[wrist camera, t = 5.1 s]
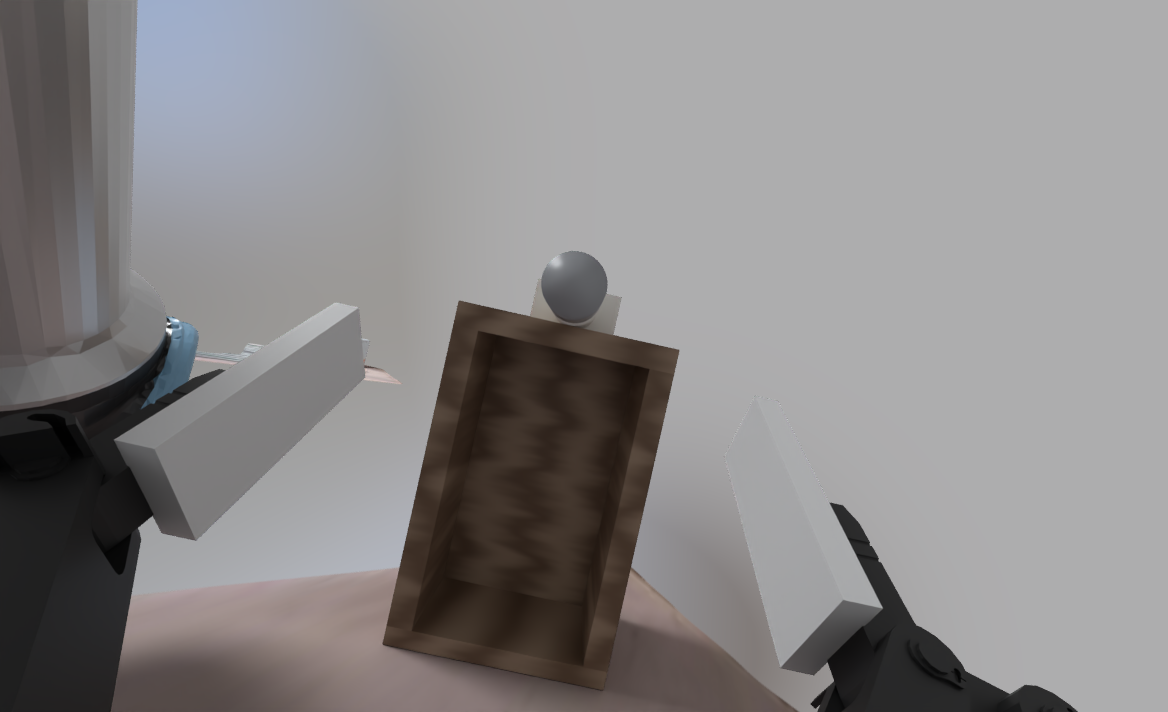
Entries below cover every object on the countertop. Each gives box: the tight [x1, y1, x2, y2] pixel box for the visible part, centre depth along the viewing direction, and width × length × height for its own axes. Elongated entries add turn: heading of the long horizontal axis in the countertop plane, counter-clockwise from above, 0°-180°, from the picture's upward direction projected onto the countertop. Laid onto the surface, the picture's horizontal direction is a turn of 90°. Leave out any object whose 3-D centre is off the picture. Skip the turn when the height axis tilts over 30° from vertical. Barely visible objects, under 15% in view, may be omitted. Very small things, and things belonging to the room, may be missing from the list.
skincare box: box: [362, 339, 370, 363], centre depth 175 cm, size 6×4×12 cm
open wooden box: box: [383, 301, 679, 690], centre depth 38 cm, size 18×10×28 cm, turn 91°
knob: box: [530, 251, 621, 335], centre depth 34 cm, size 18×8×4 cm, turn 1°
